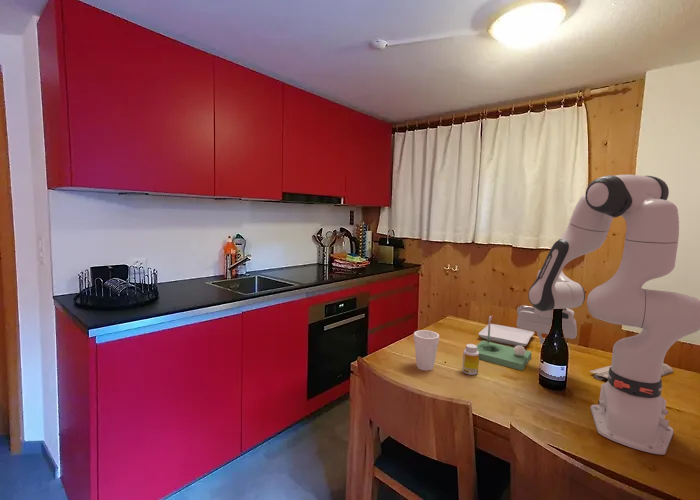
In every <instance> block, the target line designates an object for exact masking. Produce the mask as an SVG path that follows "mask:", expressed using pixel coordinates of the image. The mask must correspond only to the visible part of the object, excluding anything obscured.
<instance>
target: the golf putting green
mask: <svg viewBox="0 0 700 500" xmlns="http://www.w3.org/2000/svg"><path fill="white" fill-rule="evenodd" d="M475 345H476V346H477V351H478V352H479V361H480V360H481V361H485V362H488V363H493V364H496V365H500V366H503V367H507V368H511V369H515V370H518V371H523V370H524V369H525V367H526V366H527V364H528V363H529V361H530V360H531V358H532V351H530V350H526V349H525V354H524V355H523V356H517V355H516V354H515V353H514V348H515V347H514V346H513V347H512V346H510V345H506V344H502V343H497V342H493V341H489V343H487V340H484V339H483V340H481V341H480V342H479V343H477V344H475Z"/></svg>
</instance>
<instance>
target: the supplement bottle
mask: <svg viewBox="0 0 700 500" xmlns="http://www.w3.org/2000/svg"><path fill="white" fill-rule="evenodd" d="M476 345H477V344H473V343H467V344H465V349H464V350H463V352H462V353H463V354H462V355H463V356H462V372H463V373H465V374H467V375H470V376H475V375H477V374H479V363H480V359H479V352H478V351H477V346H476Z"/></svg>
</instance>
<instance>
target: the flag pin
mask: <svg viewBox="0 0 700 500" xmlns="http://www.w3.org/2000/svg"><path fill="white" fill-rule="evenodd" d="M492 320H493V314H491V315H489V316H488V324H487V325H488V340H487V339H486V341H487V343H489V342H490V340H489V339H490V324H492V323H491V321H492Z"/></svg>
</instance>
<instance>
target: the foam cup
mask: <svg viewBox="0 0 700 500" xmlns="http://www.w3.org/2000/svg"><path fill="white" fill-rule="evenodd" d="M413 341H414V351H415V363H416V367H418V368H417V369H419V370H421V371H426V372H427V371H428V370H429V371H432V370H434V367H435V362H436V356H437V351H438V345H439V343H440V334H439V333H437V332H435V331H433V330H427V329H423V330H422V329H421V330H416V331H414V332H413Z"/></svg>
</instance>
